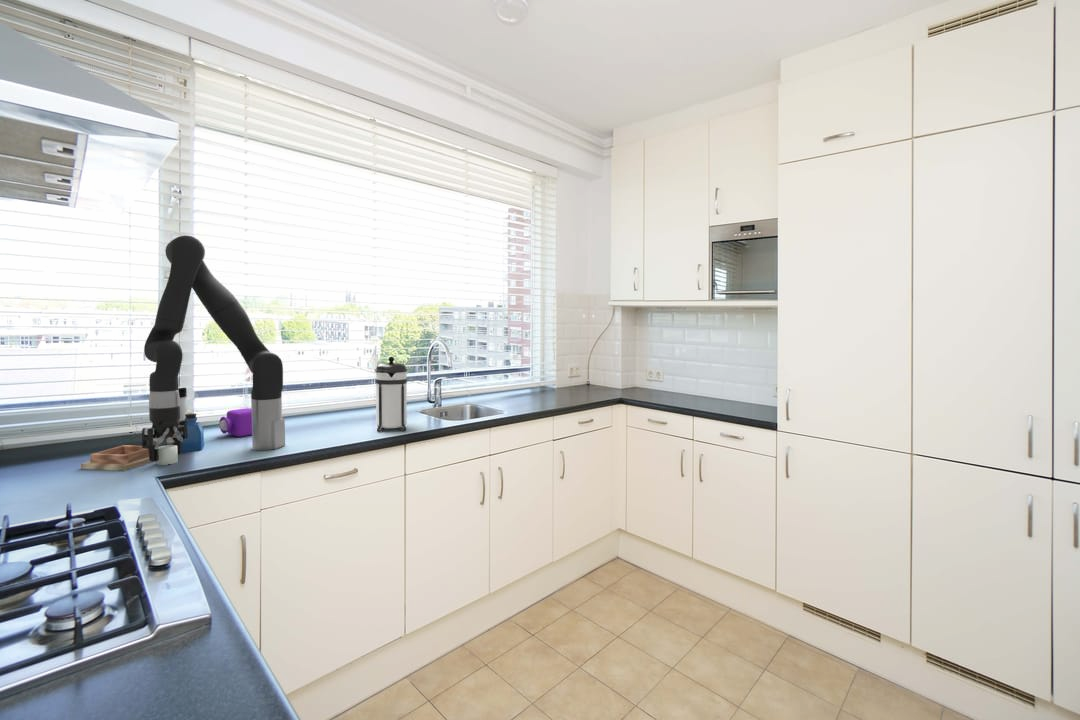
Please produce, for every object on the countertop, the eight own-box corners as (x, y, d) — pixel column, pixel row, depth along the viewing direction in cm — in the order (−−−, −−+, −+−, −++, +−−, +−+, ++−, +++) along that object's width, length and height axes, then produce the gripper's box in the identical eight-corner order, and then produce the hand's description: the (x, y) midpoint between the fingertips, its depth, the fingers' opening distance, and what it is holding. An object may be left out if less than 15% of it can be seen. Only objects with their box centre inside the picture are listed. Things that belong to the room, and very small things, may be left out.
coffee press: (419, 428, 209) (419, 356, 207) (389, 434, 195) (389, 358, 193) (391, 422, 218) (391, 354, 216) (360, 429, 205) (360, 356, 202)
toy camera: (213, 437, 187) (212, 410, 186) (247, 430, 199) (246, 405, 198) (233, 440, 182) (232, 413, 182) (266, 432, 195) (265, 407, 194)
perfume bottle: (179, 452, 165) (177, 416, 164) (182, 448, 171) (181, 413, 170) (201, 450, 168) (200, 415, 167) (204, 446, 173) (202, 412, 173)
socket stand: (165, 457, 158) (164, 445, 158) (125, 470, 144) (125, 457, 144) (124, 456, 159) (123, 443, 159) (80, 468, 145) (80, 455, 145)
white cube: (182, 461, 155) (181, 445, 155) (168, 465, 150) (167, 449, 150) (166, 460, 156) (165, 444, 155) (152, 465, 151) (151, 448, 150)
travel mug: (177, 446, 172) (175, 389, 171) (162, 445, 174) (159, 388, 172) (193, 442, 178) (191, 386, 177) (178, 441, 180) (176, 386, 178)
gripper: (156, 409, 144) (158, 464, 146) (194, 402, 159) (195, 452, 160) (132, 408, 145) (134, 463, 146) (172, 401, 159) (173, 451, 160)
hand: (166, 457), depth 153 cm, fingers open, 8 cm apart
